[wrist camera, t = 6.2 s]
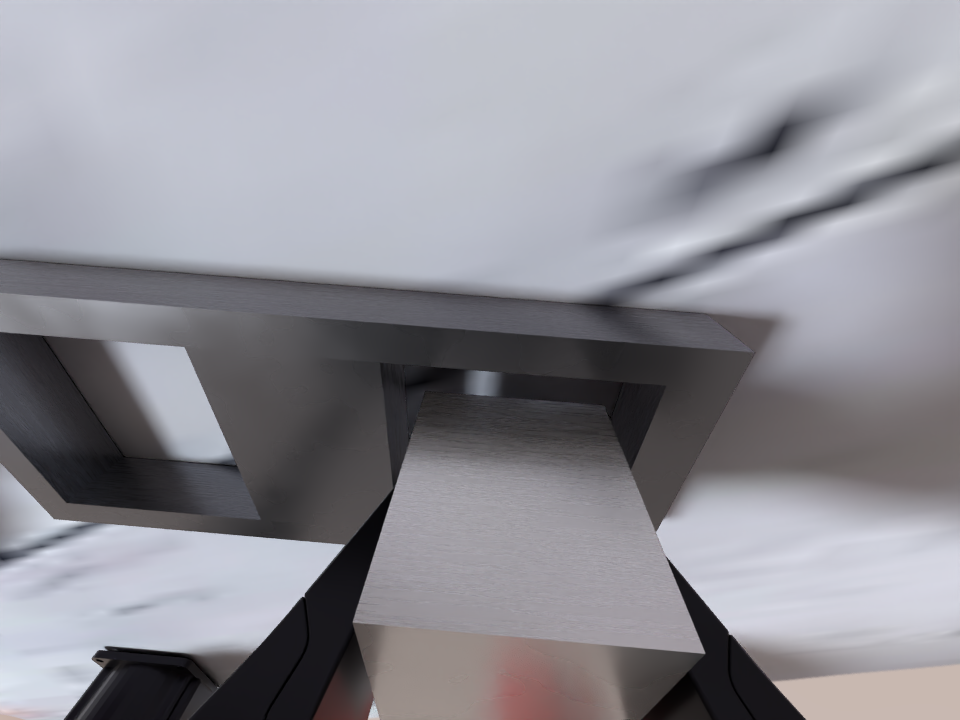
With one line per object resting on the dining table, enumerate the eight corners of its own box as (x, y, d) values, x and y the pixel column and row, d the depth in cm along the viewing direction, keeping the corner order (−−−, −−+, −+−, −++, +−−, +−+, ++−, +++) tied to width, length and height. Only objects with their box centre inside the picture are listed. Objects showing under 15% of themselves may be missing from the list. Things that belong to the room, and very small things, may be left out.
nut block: (428, 504, 11) (382, 728, 7) (425, 391, 9) (352, 622, 4) (568, 516, 11) (612, 748, 7) (604, 405, 9) (706, 654, 4)
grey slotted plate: (110, 472, 14) (53, 519, 12) (-48, 255, 9) (-174, 279, 7) (617, 516, 13) (635, 569, 12) (706, 314, 9) (755, 352, 7)
